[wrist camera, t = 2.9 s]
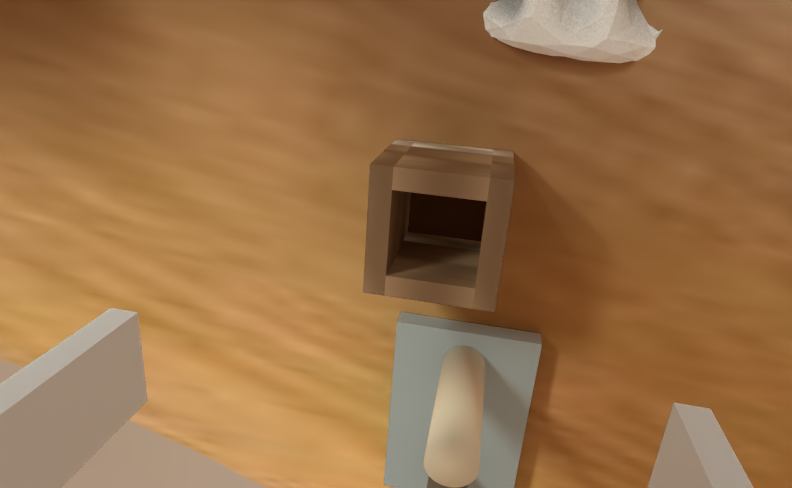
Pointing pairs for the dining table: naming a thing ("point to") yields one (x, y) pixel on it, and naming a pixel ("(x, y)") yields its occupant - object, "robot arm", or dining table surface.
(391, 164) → the brown open cube
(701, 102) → the dining table surface
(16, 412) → the robot arm
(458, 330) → the pin stand
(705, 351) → the dining table surface
